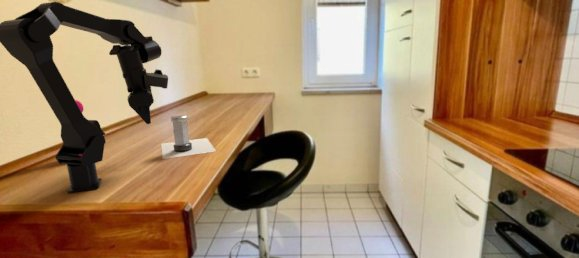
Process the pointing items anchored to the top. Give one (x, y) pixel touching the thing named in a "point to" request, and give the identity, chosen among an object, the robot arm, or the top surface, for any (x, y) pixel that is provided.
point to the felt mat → (197, 148)
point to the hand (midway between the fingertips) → (148, 118)
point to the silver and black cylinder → (181, 133)
